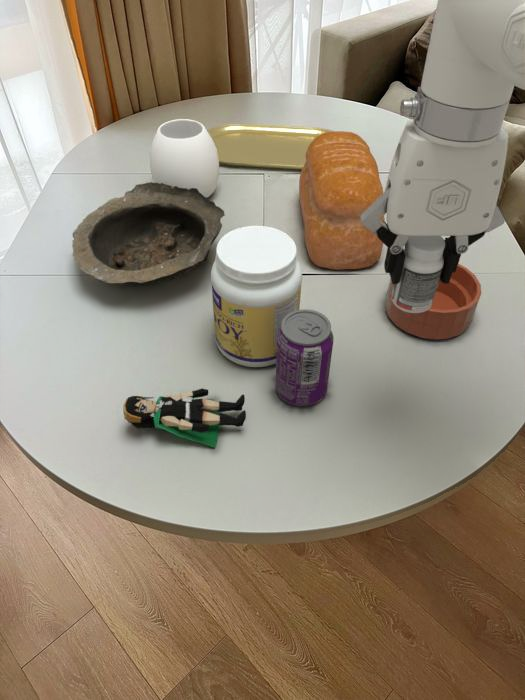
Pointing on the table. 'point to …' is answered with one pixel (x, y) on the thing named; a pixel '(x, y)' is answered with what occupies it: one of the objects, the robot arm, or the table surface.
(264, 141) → the serving platter
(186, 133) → the white vase
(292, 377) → the beverage can
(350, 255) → the bread
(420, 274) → the pill bottle
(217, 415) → the figurine
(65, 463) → the table surface
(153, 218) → the stone bowl
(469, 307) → the terracotta bowl
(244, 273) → the supplement tub
